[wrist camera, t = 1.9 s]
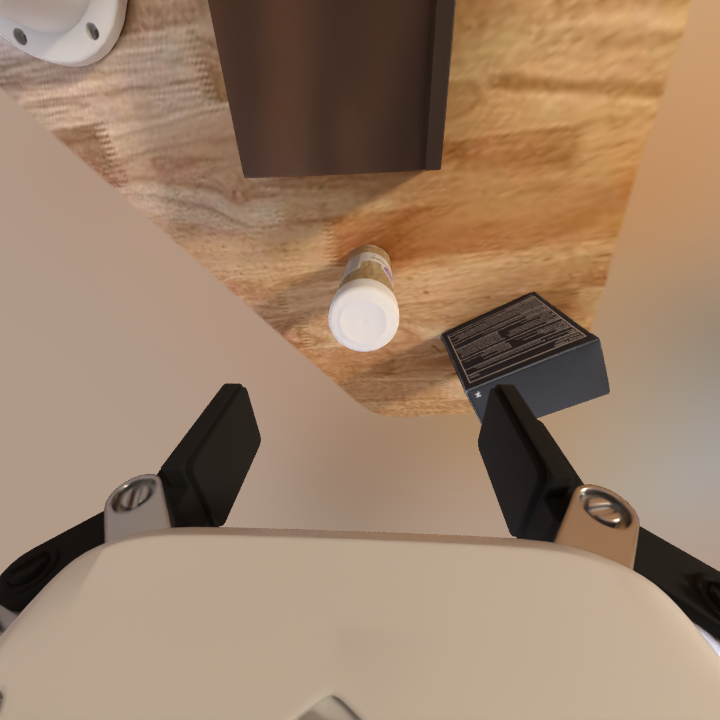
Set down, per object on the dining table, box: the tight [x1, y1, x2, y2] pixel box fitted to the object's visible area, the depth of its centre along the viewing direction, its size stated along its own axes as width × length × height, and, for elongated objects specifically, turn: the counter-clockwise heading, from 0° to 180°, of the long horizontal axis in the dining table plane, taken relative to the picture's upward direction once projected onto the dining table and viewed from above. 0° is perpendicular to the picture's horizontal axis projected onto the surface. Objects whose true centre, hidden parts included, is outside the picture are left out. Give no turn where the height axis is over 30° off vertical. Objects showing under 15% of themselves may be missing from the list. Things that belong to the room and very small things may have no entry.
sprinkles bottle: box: [328, 245, 399, 351], centre depth 24 cm, size 5×4×13 cm
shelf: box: [208, 0, 456, 178], centre depth 19 cm, size 14×16×8 cm
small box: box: [441, 292, 610, 424], centre depth 29 cm, size 11×6×10 cm, turn 121°
